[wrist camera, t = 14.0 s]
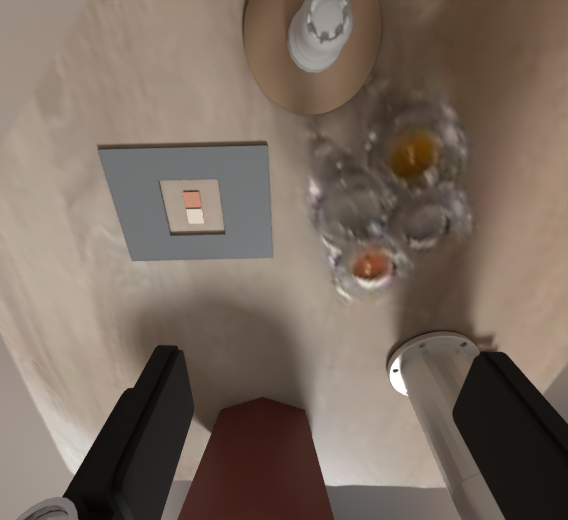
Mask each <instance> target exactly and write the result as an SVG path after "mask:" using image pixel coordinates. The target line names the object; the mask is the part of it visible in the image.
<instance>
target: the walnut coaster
mask: <svg viewBox="0 0 568 520" xmlns="http://www.w3.org/2000/svg"><path fill="white" fill-rule="evenodd" d="M350 1H351V3H352V8H353V13H354V21H353V29H352V31H351V34H350V36H349V38H348V40H347V42H346V43H345V44H344V45H343V48H342V50H341V52H340V54H339V57H338V58H337V60H336V61H335V62H334V63H333V64H332V65H331V66H330V67H329V68H328V69H326V70H323V71H321V72H319V73H315V72H306V71H305V70H303V69H301V68H299V67H298V66H297V65H296V63H295V62H294V61H293V60H292V58H291V56H290V53H289V49H288V46H287V38H288V29H289V26H290V24H291V21H292V18H293V17H294V15H295V14H296V13H297V12H298V11H299V10H300V8H301V7H302V5H303V3H304V0H249V1H248V4H247V8H246V13H245V19H244V45H245V52H246V57H247V61H248V64H249V67H250V70H251V72H252V74H253V76H254V78H255V80H256V82H257V83H258V85H259V87H260V88H261V89H262V91H263V92H264V93H265V94H266V95H267V96H268V97H269V98H270V99H271V100H272V101H273V102H274V103H276V104H277V105H279V106H280V107H282V108H284V109H286V110H288V111H291V112H294V113H298V114H303V115H316V114H322V113H326V112H329V111H331V110H334V109H336V108H338V107H340V106H341V105H343V104H344V103H346V102H347V101H348V100H350V99H351V98H352V97H353V96H354V95H355V94H356V93H357V92H358V91H359V90H360V88H361V87H362V86H363V84H364V83H365V81H366V80H367V78H368V77H369V75H370V73H371V71H372V69H373V67H374V64H375V62H376V59H377V56H378V52H379V48H380V43H381V36H382V13H381V7H380V2H379V0H350Z"/></svg>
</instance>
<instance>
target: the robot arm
mask: <svg viewBox="0 0 568 520" xmlns="http://www.w3.org/2000/svg"><path fill="white" fill-rule="evenodd" d="M387 373H388V377H389V380H390V382H391V384H392V386H393V387H394V388H395V389H396V390H397V391H399V392H400V393H402V394H404V395H406V396H408V397H409V399H410V401H411V404H412V406H413V409H414V411H415V413H416V416H417V418H418V420H419V423H420V425H421V427H422V430H423V432H424V435H425V437H426V439H427V442H428V444H429V446H430V449H431V451H432V454H433V456H434V458H435V461H436V463H437V465H438V468H439V470H440V472H441V475H442V477H443V480H444V482H445V484H446V487H447V489H448V491H449V494H450V496H451V498H452V501H453V503H454V505H455V507H456V510H457V512H458V515H459V517H460V519H461V520H568V424H567V423H566V422H565V420H564V419H563V418H562V417H561V416H560V415H559V414H558V412H557V411H556V410H555V409H554V408H553V407H552V406H551V405H550V403H549V402H548V401H547V400H546V399H545V398H544V397H543V395H542V394H541V393H540V392H539V391H538V390H537V389H536V387H535V386H534V385H533V384H532V383H531V382H530V381H529V379H528V378H527V377H526V376H525V375H524V374H523V373H522V371H521V370H520V369H519V368H518V367H517V366H516V365H515V363H514V362H513V361H512V360H511V359H510V358H509V357H508V356H507V355H506V354H505V353H503V352H481V353H480V351H479V349H478V348H477V347H476V345H475V344H474V343H473V342H472V341H471V340H470V339H469V338H468V337H466V336H464V335H462V334H458V333H455V332H447V331H444V332H432V333H427V334H424V335H420V336H418V337H416V338H413V339H411V340H409V341H408V342H406V343H405V344H403V345H402V346H401V347H400V348H398V349H397V350H396V352H395V353H394V354H393V355H392V357H391V359H390V361H389V363H388V367H387ZM193 412H194V403H193V398H192V393H191V388H190V383H189V378H188V373H187V367H186V362H185V357H184V353H183V351H182V350H178V347H177V346H171V345H158V346H157V347H156V348H155V350H154V352H153V353H152V355H151V357H150V359H149V361H148V362H147V364H146V366H145V368H144V370H143V371H142V373H141V375H140V377H139V379H138V381H137V382H136V384H135V386H134V388H128V389H127V390H125V391H124V392H123V394H122V395H121V397H120V398H119V400H118V402H117V404H116V405H115V407H114V409H113V411H112V412H111V414H110V416H109V417H108V419H107V421H106V423H105V424H104V426H103V428H102V429H101V431H100V433H99V435H98V436H97V438H96V440H95V442H94V443H93V445H92V447H91V448H90V450H89V452H88V454H87V455H86V457H85V459H84V461H83V462H82V464H81V466H80V467H79V469H78V471H77V473H76V474H75V476H74V478H73V480H72V481H71V483H70V485H69V487H68V488H67V490H66V492H65V493H64V495H63V497H62V498H61V497H55V498H51V499H46V500H44V501H42V502H40V503H38V504H36V505H34V506H32V507H31V508H30V509H28V510H27V511H26V512H24V513H23V514H21V515H20V516H19V517H18V518H17V519H16V520H161V517H162V513H163V510H164V507H165V504H166V500H167V497H168V494H169V491H170V487H171V484H172V481H173V478H174V475H175V472H176V468H177V465H178V462H179V459H180V455H181V452H182V449H183V446H184V443H185V439H186V436H187V433H188V430H189V426H190V423H191V420H192V417H193Z"/></svg>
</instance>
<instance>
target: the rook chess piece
mask: <svg viewBox="0 0 568 520" xmlns="http://www.w3.org/2000/svg"><path fill="white" fill-rule="evenodd" d="M353 21H354V13H353V8H352V3H351V1H350V0H304V3H303V5H302V7H301V8H300V10H299V11H298V12H297V13H296V14H295V15H294V17H293V18H292V21H291V24H290V26H289V29H288V38H287V46H288V49H289V53H290V56H291V58H292V60H293V61H294V62H295V63H296V65H297V66H298V67H299V68H301V69H303V70H305V71H306V72H315V73H319V72H321V71H323V70H326V69H328V68H329V67H330V66H331V65H332V64H333V63H334V62H335V61H336V60H337V58H338V57H339V54H340V52H341V50H342V48H343V45H344V44H345V43H346V42H347V40H348V38H349V36H350V34H351V31H352V29H353Z"/></svg>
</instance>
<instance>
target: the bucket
mask: <svg viewBox="0 0 568 520" xmlns="http://www.w3.org/2000/svg"><path fill="white" fill-rule="evenodd" d="M177 520H334V517H333V513H332V510H331V506H330V502H329V498H328V495H327V491H326V487H325V483H324V480H323V476H322V472H321V468H320V465H319V461H318V457H317V453H316V450H315V446H314V442H313V439H312V435H311V431H310V427H309V424H308V420H307V416H306V413H305V410H302V409H299V408H296V407H293V406H289V405H286V404H283V403H280V402H277V401H274V400H270V399H267V398H264V397H261V398H258V399H255V400H252V401H248V402H245V403H242V404H239V405H235V406H232V407H229V408H226V409H222V410H221V411H220V414H219V416H218V419H217V421H216V424H215V426H214V429H213V431H212V434H211V436H210V439H209V441H208V444H207V446H206V449H205V451H204V454H203V456H202V459H201V461H200V464H199V466H198V469H197V471H196V474H195V477H194V479H193V482H192V484H191V487H190V489H189V492H188V494H187V497H186V499H185V502H184V504H183V507H182V510H181V512H180V514H179V517H178V519H177Z"/></svg>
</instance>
